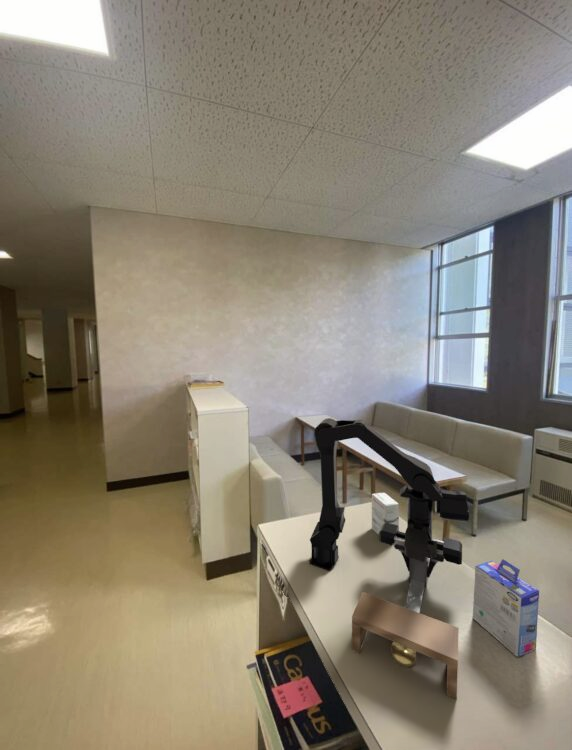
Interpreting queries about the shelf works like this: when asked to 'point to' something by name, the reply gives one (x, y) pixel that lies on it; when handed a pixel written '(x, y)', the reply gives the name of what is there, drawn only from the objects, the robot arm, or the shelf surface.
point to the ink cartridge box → (506, 606)
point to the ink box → (384, 511)
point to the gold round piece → (403, 655)
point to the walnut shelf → (407, 632)
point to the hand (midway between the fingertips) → (418, 573)
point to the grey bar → (416, 584)
